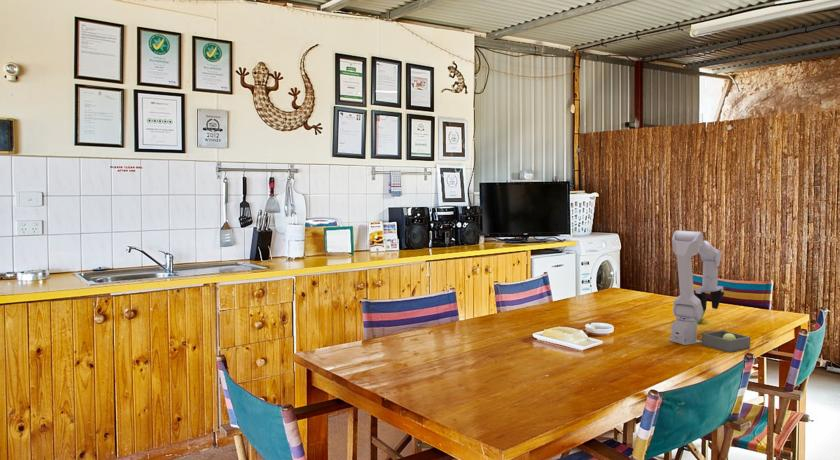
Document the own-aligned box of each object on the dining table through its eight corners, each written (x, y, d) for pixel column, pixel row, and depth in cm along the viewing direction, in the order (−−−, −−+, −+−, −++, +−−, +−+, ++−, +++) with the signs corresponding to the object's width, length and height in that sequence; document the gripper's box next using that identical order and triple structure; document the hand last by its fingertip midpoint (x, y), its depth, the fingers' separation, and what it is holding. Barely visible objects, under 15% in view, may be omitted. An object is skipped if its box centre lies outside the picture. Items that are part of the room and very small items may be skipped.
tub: (729, 352, 233) (729, 340, 233) (701, 344, 244) (701, 333, 243) (749, 348, 239) (750, 337, 238) (721, 341, 249) (722, 330, 249)
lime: (729, 348, 238) (729, 336, 237) (719, 344, 242) (719, 332, 242) (739, 346, 240) (739, 334, 239) (729, 342, 244) (729, 330, 243)
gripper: (706, 279, 254) (705, 312, 255) (730, 277, 261) (728, 309, 262) (691, 277, 261) (690, 309, 262) (715, 274, 267) (713, 306, 268)
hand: (708, 309), depth 262 cm, fingers open, 7 cm apart
